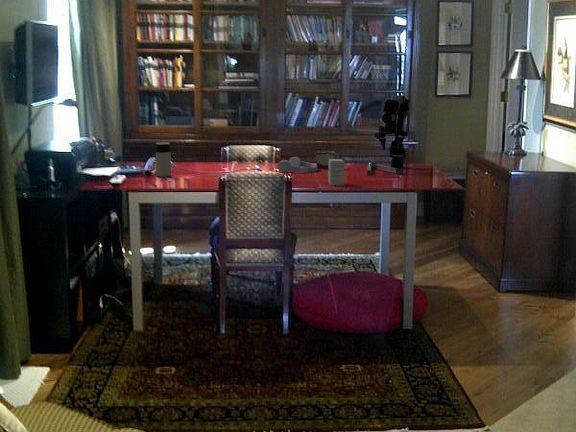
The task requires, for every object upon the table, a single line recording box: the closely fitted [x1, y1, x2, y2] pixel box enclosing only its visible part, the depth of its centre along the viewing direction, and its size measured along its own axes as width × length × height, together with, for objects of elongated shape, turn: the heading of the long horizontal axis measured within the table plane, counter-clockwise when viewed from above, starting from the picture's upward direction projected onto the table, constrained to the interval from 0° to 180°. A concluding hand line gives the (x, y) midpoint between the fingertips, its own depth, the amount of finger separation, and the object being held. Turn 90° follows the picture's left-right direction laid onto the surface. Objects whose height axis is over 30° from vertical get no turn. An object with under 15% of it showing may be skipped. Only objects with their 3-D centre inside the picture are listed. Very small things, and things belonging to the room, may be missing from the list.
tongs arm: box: [374, 163, 405, 175], centre depth 451 cm, size 24×2×2 cm, turn 29°
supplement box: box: [327, 158, 345, 187], centre depth 406 cm, size 7×7×13 cm
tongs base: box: [366, 161, 377, 176], centre depth 451 cm, size 28×5×4 cm, turn 174°
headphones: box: [277, 156, 318, 174], centre depth 455 cm, size 22×7×20 cm
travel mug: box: [155, 141, 172, 178], centre depth 432 cm, size 8×8×18 cm
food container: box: [314, 150, 337, 170], centre depth 463 cm, size 12×6×10 cm, turn 84°
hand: (390, 149), depth 450 cm, fingers open, 9 cm apart
